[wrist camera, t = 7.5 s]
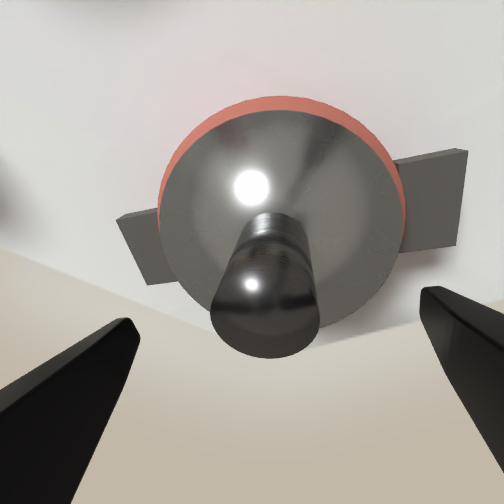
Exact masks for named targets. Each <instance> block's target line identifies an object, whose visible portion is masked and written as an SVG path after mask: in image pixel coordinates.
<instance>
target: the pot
mask: <svg viewBox="0 0 504 504" xmlns="http://www.w3.org/2000/svg"><path fill="white" fill-rule="evenodd" d="M269 110H290V111H299V112H306V113H309V114H313V115H317V116H321V117H324V118H326V119H328V120H331V121H333V122H335V123H338V124H340V125H342V126H344V127H345V128H347V129H348V130H350V131H351V132H353V133H354V134H356V135H358V136H359V137H360V138H361V139H362V140H363V141H364V142H366V143H367V144H368V145H369V146H370V147H371V148H372V149H373V150H374V151H375V153H376V154H377V155H378V156H379V157H380V159H381V160H382V161H383V162H384V164H385V166H386V167H387V169H388V171H389V173H390V174H391V176H392V178H393V180H394V183H395V186H396V188H397V191H398V193H399V198H400V203H401V207H402V219H403V229H402V238H401V244H400V248H399V252H398V253H404V252H412V251H420V250H428V249H435V248H443V247H451V246H456V241H457V233H458V226H459V218H460V211H461V203H462V196H463V188H464V180H465V173H466V165H467V158H468V151H467V150H462V149H456V148H453V149H448V150H443V151H438V152H433V153H428V154H423V155H418V156H413V157H408V158H403V159H398V160H393V161H392V159H391V157H390V156H389V154H388V152H387V150H386V149H385V148H384V146H383V145H382V144H381V143H380V141H379V140H378V139H377V138H376V137H375V135H374V134H373V133H371V132H370V131H369V130H368V129H367V128H366V127H365V126H364V125H363V124H361V123H360V122H359V121H357V120H356V119H354V118H353V117H351V116H350V115H348V114H347V113H345V112H343V111H341V110H339V109H337V108H334V107H332V106H330V105H328V104H325V103H322V102H318V101H314V100H311V99H307V98H300V97H291V96H272V97H261V98H256V99H251V100H246V101H243V102H240V103H238V104H235V105H232V106H229V107H227V108H225V109H223V110H221V111H219V112H218V113H216V114H214V115H212V116H210V117H209V118H208V119H206V120H205V121H204V122H202V123H201V124H200V125H198V126H197V127H196V128H195V129H194V130H193V131H192V132H191V133H190V134H189V135H188V136H187V137H186V138H185V139H184V140H183V142H182V143H181V144H180V146H179V147H178V149H177V150H176V151H175V153H174V154H173V156H172V158H171V160H170V162H169V164H168V166H167V168H166V171H165V173H164V176H163V179H162V182H161V186H160V191H159V196H158V208H154V209H149V210H144V211H139V212H134V213H129V214H125V215H123V216H122V217H120V218H118V219H117V220H116V222H117V224H118V226H119V228H120V230H121V232H122V234H123V236H124V238H125V240H126V242H127V245H128V247H129V249H130V251H131V253H132V255H133V257H134V259H135V261H136V263H137V265H138V267H139V269H140V271H141V274H142V276H143V278H144V280H145V282H146V284H147V285H154V284H162V283H169V282H177V281H178V280H177V278H176V277H175V275H174V274H173V272H172V270H171V268H170V266H169V264H168V262H167V259H166V256H165V254H164V251H163V247H162V243H161V238H160V229H159V212H160V204H161V199H162V194H163V191H164V188H165V185H166V182H167V180H168V177H169V176H170V174H171V172H172V170H173V168H174V166H175V164H176V163H177V162H178V160H179V159H180V158H181V156H182V155H183V154H184V152H185V151H186V150H187V149H188V148H189V147H190V146H191V145H192V144H193V143H194V142H195V141H196V140H197V139H199V138H200V137H201V136H203V135H204V134H205V133H207V132H208V131H209V130H211V129H212V128H214V127H216V126H218V125H220V124H222V123H224V122H226V121H228V120H231V119H233V118H236V117H239V116H242V115H245V114H250V113H255V112H260V111H269Z"/></svg>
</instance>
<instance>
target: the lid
mask: <svg viewBox="0 0 504 504" xmlns="http://www.w3.org/2000/svg"><path fill="white" fill-rule="evenodd" d="M159 229H160V238H161V243H162V247H163V251H164V254H165V256H166V259H167V262H168V264H169V266H170V268H171V270H172V272H173V274H174V275H175V277H176V278H177V280H178V281H179V283H180V284H181V286H182V287H183V288H184V289H185V290H186V292H187V293H188V294H189V295H190V296H191V297H192V298H193V299H194V300H195V301H196V302H197V303H199V304H200V305H201V306H202V307H204V308H205V309H206V310H208V311H209V312H210V316H211V321H212V325H213V327H214V329H215V331H216V332H217V334H218V335H219V336H220V337H221V339H222V340H223V341H224V342H225V343H227V344H228V345H229V346H231V347H232V348H234V349H236V350H237V351H239V352H241V353H244V354H247V355H250V356H253V357H258V358H267V359H269V358H270V359H272V358H281V357H287V356H290V355H293V354H295V353H298V352H299V351H301V350H303V349H304V348H306V347H307V346H308V345H309V344H310V343H311V342H312V341H313V339H314V338H315V337H316V335H317V333H318V330H319V328H322V327H325V326H328V325H331V324H333V323H335V322H337V321H339V320H341V319H343V318H345V317H347V316H348V315H350V314H352V313H353V312H355V311H356V310H357V309H359V308H360V307H361V306H363V305H364V304H365V303H366V302H367V301H368V300H369V299H370V298H371V297H372V296H373V295H374V294H375V293H376V292H377V291H378V290H379V288H380V287H381V286H382V285H383V283H384V282H385V280H386V278H387V277H388V275H389V273H390V272H391V270H392V268H393V265H394V263H395V261H396V258H397V256H398V252H399V248H400V244H401V238H402V229H403V219H402V207H401V203H400V198H399V193H398V191H397V188H396V186H395V183H394V180H393V178H392V176H391V174H390V173H389V171H388V169H387V167H386V166H385V164H384V162H383V161H382V160H381V159H380V157H379V156H378V155H377V154H376V153H375V151H374V150H373V149H372V148H371V147H370V146H369V145H368V144H367V143H366V142H364V141H363V140H362V139H361V138H360V137H359V136H358V135H356V134H354V133H353V132H351V131H350V130H348V129H347V128H345V127H344V126H342V125H340V124H338V123H335V122H333V121H331V120H328V119H326V118H324V117H321V116H317V115H313V114H309V113H306V112H299V111H290V110H269V111H260V112H255V113H250V114H245V115H242V116H239V117H236V118H233V119H231V120H228V121H226V122H224V123H222V124H220V125H218V126H216V127H214V128H212V129H211V130H209V131H208V132H207V133H205V134H204V135H203V136H201V137H200V138H199V139H197V140H196V141H195V142H194V143H193V144H192V145H191V146H190V147H189V148H188V149H187V150H186V151H185V152H184V154H183V155H182V156H181V158H180V159H179V160H178V162H177V163H176V164H175V166H174V168H173V170H172V172H171V174H170V176H169V177H168V180H167V182H166V185H165V188H164V191H163V194H162V199H161V204H160V212H159Z"/></svg>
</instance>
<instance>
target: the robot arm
mask: <svg viewBox="0 0 504 504" xmlns="http://www.w3.org/2000/svg"><path fill="white" fill-rule="evenodd" d="M419 313H420V318H421V321H422V323H423V325H424V328H425V330H426V332H427V334H428V337H429V339H430V340H431V343H432V346H433V348H434V350H435V352H436V354H437V357H438V359H439V361H440V363H441V365H442V367H443V369H444V372H445V374H446V376H447V377H448V379H449V381H450V383H451V385H452V386H453V388H454V390H455V391H456V393H457V395H458V396H459V398H460V400H461V401H462V403H463V405H464V407H465V408H466V410H467V412H468V413H469V415H470V417H471V418H472V420H473V422H474V423H475V425H476V427H477V428H478V430H479V432H480V434H481V435H482V437H483V439H484V440H485V442H486V444H487V446H488V447H489V449H490V451H491V452H492V454H493V455H494V457H495V459H496V461H497V462H498V464H499V466H500V467H501V469H502V471H503V473H504V314H503V313H500V312H498V311H496V310H493V309H491V308H489V307H487V306H485V305H482V304H480V303H478V302H476V301H473V300H471V299H469V298H466V297H464V296H462V295H460V294H457V293H455V292H453V291H451V290H448V289H446V288H444V287H441V286H432V287H424V288H423V289H422V290H421V295H420V310H419ZM139 343H140V334H139V333H138V331H137V329H136V327H135V325H134V323H133V322H132V320H131V319H130V318H118V319H116V320H114V321H112V322H110V323H109V324H107V325H105V326H104V327H102V328H101V329H99V330H97V331H96V332H94V333H92V334H91V335H89V336H88V337H86V338H84V339H83V340H81V341H79V342H78V343H76V344H74V345H73V346H71V347H69V348H68V349H66V350H65V351H63V352H61V353H60V354H58V355H56V356H55V357H53V358H51V359H50V360H48V361H46V362H45V363H43V364H42V365H40V366H38V367H37V368H35V369H33V370H32V371H30V372H28V373H27V374H25V375H24V376H22V377H20V378H19V379H17V380H15V381H14V382H12V383H10V384H9V385H7V386H6V387H4V388H3V389H1V390H0V504H71V501H72V500H73V497H74V495H75V493H76V491H77V489H78V486H79V484H80V482H81V480H82V477H83V475H84V473H85V471H86V469H87V467H88V465H89V462H90V460H91V458H92V455H93V454H94V451H95V449H96V447H97V445H98V443H99V440H100V438H101V436H102V434H103V432H104V429H105V427H106V425H107V423H108V420H109V418H110V416H111V414H112V412H113V410H114V408H115V405H116V403H117V401H118V399H119V396H120V394H121V392H122V390H123V387H124V385H125V382H126V380H127V377H128V374H129V371H130V369H131V366H132V363H133V360H134V357H135V355H136V352H137V349H138V346H139Z"/></svg>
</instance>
